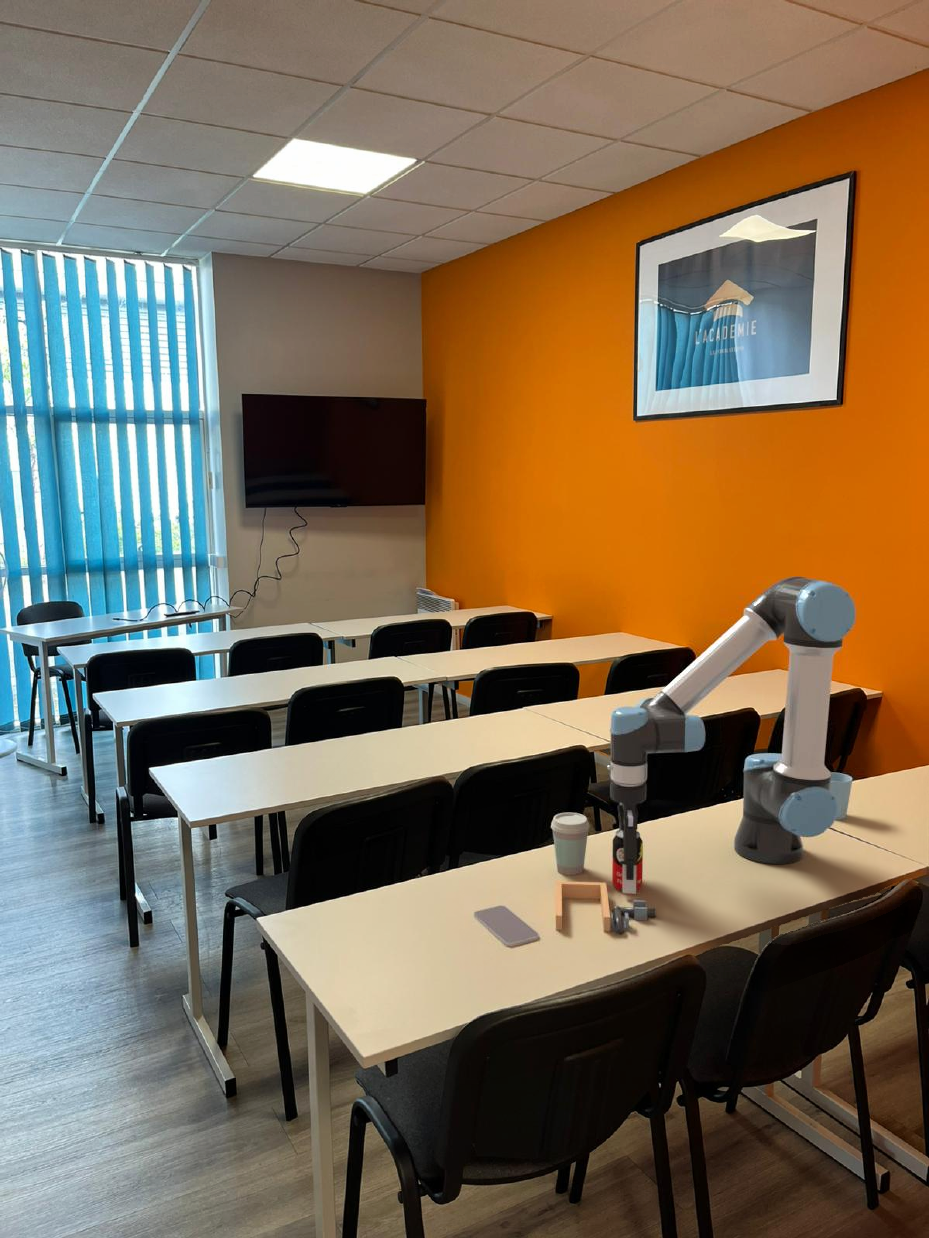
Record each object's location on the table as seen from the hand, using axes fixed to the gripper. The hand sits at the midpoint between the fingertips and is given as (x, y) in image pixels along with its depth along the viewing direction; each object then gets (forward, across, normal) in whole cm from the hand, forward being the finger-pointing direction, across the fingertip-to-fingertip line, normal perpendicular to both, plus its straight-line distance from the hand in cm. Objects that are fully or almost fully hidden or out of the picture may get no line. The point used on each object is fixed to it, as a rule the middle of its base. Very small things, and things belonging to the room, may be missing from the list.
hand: (627, 881), depth 191 cm
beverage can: (+1, 0, 0) cm, 1 cm away
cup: (+1, -45, +56) cm, 72 cm away
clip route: (+1, +16, 0) cm, 16 cm away
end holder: (+1, +12, -10) cm, 16 cm away
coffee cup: (+1, -8, -12) cm, 14 cm away
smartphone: (+2, +19, -25) cm, 31 cm away
